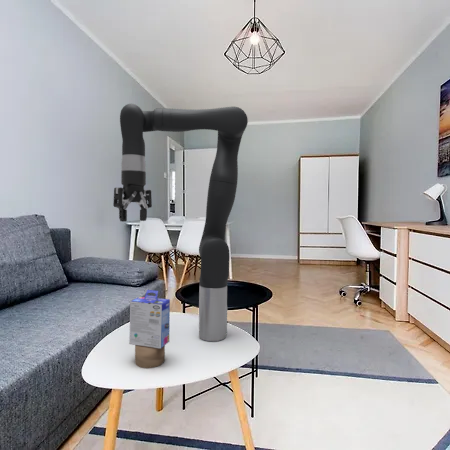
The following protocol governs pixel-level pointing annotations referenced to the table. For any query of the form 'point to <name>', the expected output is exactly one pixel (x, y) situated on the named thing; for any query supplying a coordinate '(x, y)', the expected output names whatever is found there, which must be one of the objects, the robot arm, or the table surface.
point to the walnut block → (149, 356)
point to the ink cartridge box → (149, 321)
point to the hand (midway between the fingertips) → (133, 221)
